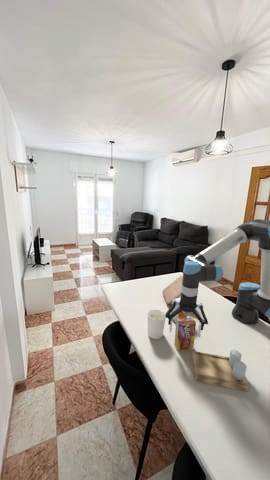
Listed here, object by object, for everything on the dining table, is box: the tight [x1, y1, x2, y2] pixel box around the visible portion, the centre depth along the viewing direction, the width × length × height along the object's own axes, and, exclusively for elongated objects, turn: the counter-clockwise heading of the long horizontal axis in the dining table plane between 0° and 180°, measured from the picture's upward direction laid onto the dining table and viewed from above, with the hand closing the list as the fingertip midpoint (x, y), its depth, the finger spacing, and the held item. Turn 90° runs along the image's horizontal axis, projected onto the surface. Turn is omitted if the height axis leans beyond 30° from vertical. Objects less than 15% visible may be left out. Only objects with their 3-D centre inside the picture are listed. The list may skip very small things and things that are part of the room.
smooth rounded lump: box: [232, 360, 247, 382], centre depth 80 cm, size 4×4×6 cm
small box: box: [170, 297, 189, 323], centre depth 120 cm, size 8×6×13 cm
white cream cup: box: [147, 309, 166, 340], centre depth 106 cm, size 10×10×12 cm
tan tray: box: [192, 350, 250, 392], centre depth 85 cm, size 20×13×3 cm, turn 79°
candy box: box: [174, 317, 197, 351], centre depth 98 cm, size 9×4×15 cm, turn 96°
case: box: [162, 275, 183, 308], centre depth 143 cm, size 20×21×16 cm
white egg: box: [228, 349, 242, 368], centre depth 86 cm, size 4×4×6 cm
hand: (184, 332), depth 97 cm, fingers open, 13 cm apart
